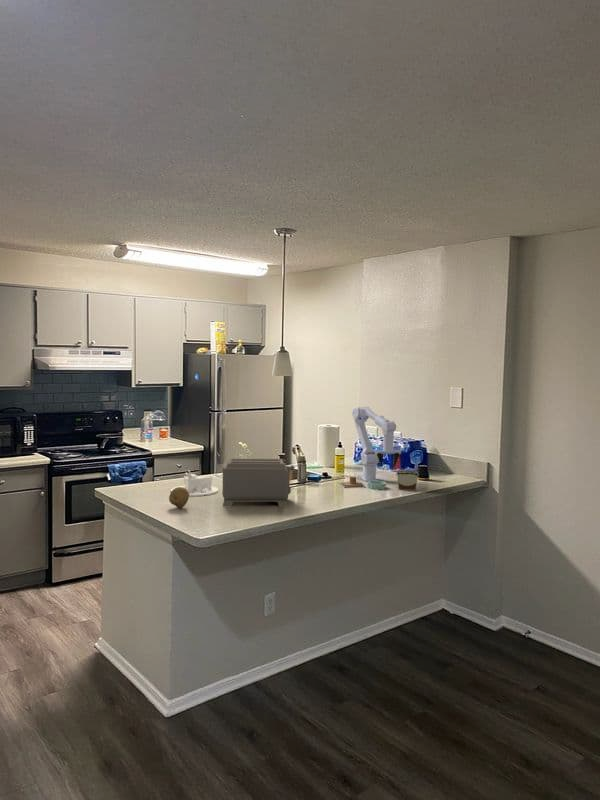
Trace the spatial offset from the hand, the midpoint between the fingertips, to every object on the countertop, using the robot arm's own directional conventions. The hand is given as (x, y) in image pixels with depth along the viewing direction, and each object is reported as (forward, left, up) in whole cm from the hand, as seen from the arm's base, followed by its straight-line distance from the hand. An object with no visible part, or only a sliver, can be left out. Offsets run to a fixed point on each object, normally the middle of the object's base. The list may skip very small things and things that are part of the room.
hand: (387, 466), depth 356 cm
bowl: (+8, -8, -10) cm, 15 cm away
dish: (+10, -108, -11) cm, 109 cm away
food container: (+12, +8, -11) cm, 18 cm away
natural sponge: (+47, -115, -11) cm, 125 cm away
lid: (+1, -20, -10) cm, 23 cm away
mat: (+1, -20, -10) cm, 23 cm away
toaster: (+37, -77, -11) cm, 86 cm away
